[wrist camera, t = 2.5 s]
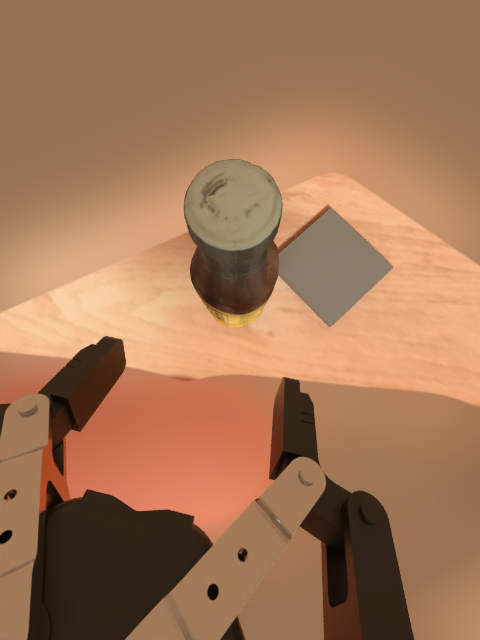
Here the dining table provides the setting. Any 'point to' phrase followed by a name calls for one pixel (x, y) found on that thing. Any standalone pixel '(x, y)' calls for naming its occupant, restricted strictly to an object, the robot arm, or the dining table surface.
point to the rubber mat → (331, 267)
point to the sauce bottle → (234, 239)
